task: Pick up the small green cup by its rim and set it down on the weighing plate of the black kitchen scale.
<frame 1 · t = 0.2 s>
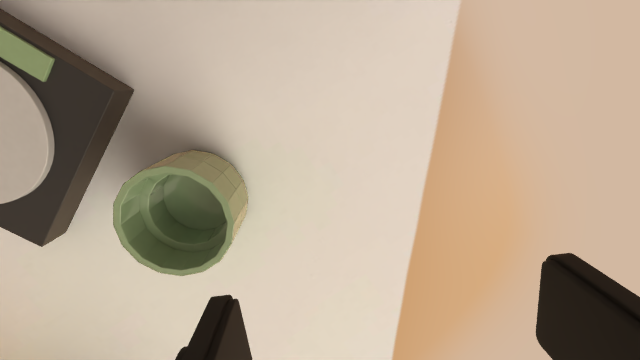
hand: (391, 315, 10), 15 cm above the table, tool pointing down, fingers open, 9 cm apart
green cup: (201, 195, 25), on the table
scale: (10, 117, 23), on the table
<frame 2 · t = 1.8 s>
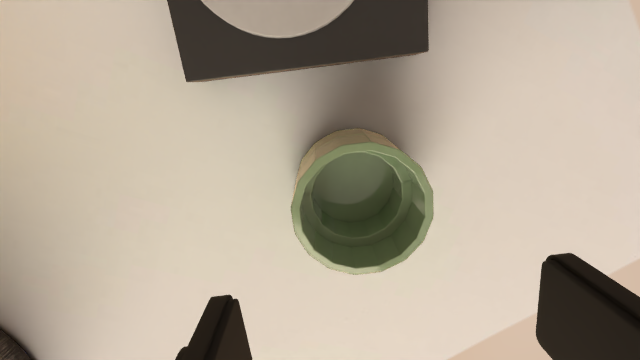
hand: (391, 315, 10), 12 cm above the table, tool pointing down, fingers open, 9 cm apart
green cup: (351, 182, 21), on the table
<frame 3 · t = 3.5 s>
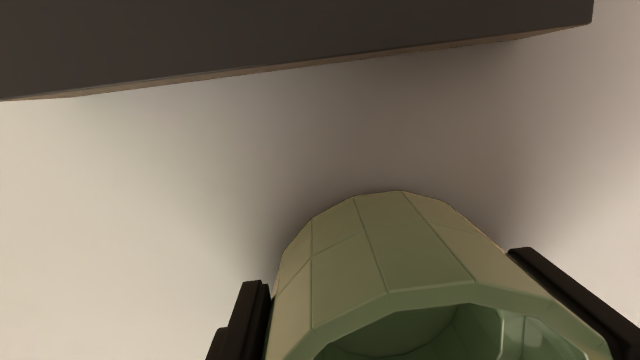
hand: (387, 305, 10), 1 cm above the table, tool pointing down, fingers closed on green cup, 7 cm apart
green cup: (380, 284, 11), on the table, touching gripper
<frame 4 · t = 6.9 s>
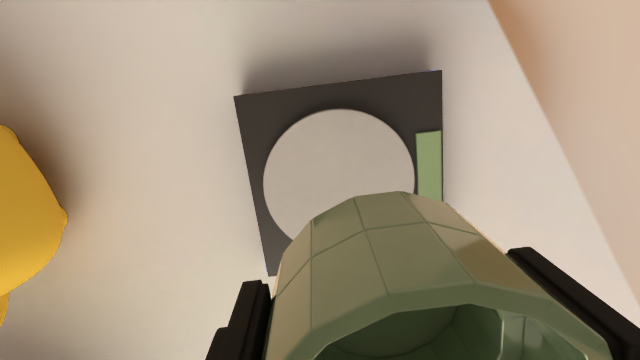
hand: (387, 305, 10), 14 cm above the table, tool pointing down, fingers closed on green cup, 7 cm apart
green cup: (380, 285, 11), point 13 cm above the table, touching gripper
scale: (344, 173, 24), on the table
teapot: (0, 202, 24), on the table
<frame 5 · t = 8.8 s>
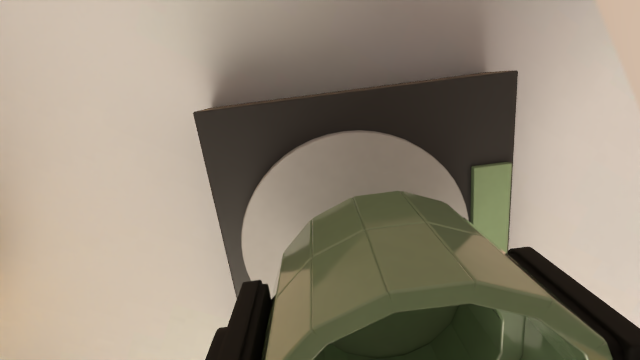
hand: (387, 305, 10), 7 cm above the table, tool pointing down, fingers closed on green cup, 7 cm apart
green cup: (380, 285, 11), point 6 cm above the table, touching gripper
scale: (359, 217, 17), on the table
when the fingers open (4 cm above the table, at t = 10.3 s): green cup stays where it is, resting on scale.
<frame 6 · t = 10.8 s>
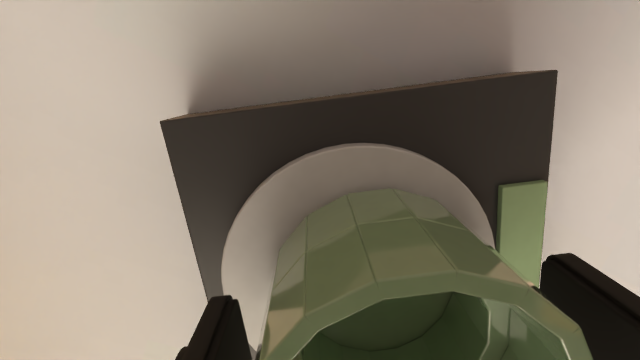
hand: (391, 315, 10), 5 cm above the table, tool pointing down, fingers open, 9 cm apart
green cup: (374, 280, 12), point 3 cm above the table, touching scale
scale: (363, 240, 15), on the table
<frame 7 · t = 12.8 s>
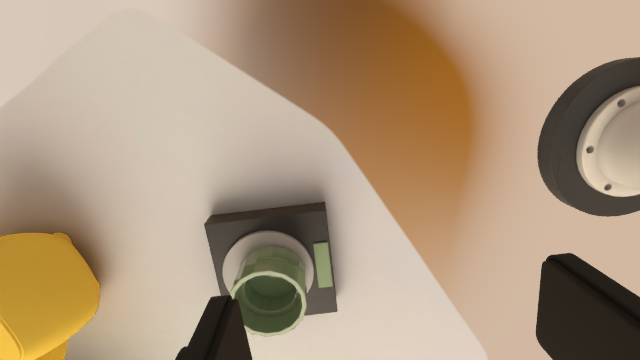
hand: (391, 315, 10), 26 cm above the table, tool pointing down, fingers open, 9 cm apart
green cup: (273, 273, 35), point 3 cm above the table, touching scale
scale: (276, 259, 38), on the table
teapot: (57, 276, 38), on the table
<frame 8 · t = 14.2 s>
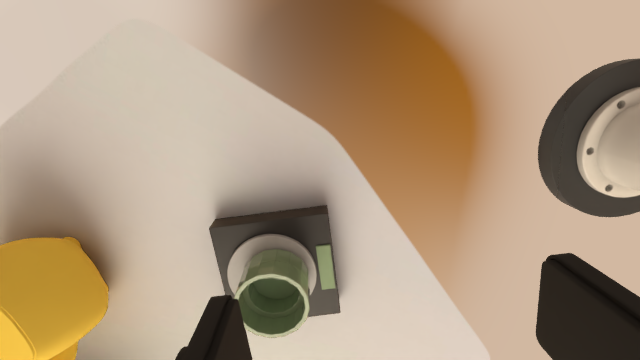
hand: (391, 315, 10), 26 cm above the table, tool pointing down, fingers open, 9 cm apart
green cup: (276, 275, 36), point 3 cm above the table, touching scale
scale: (279, 261, 39), on the table
teapot: (67, 279, 39), on the table
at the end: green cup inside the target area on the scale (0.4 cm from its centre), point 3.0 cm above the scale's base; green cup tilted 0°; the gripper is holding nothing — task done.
